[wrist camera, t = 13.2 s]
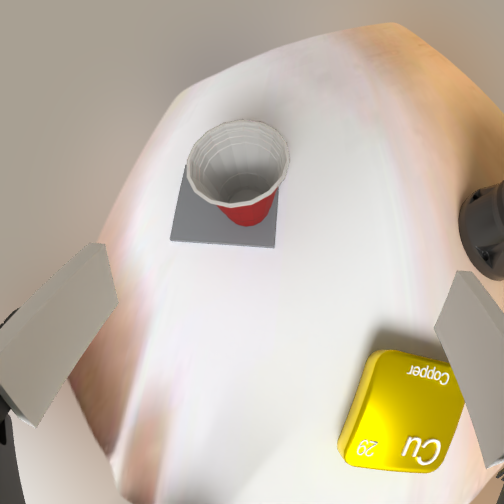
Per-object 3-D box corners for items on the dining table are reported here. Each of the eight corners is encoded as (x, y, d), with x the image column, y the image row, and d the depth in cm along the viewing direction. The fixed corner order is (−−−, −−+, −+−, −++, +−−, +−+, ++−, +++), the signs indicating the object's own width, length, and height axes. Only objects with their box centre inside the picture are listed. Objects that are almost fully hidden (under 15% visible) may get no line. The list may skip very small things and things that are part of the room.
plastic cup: (199, 186, 43) (176, 134, 31) (271, 165, 43) (270, 108, 32) (217, 256, 39) (195, 219, 28) (297, 232, 40) (306, 186, 28)
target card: (279, 169, 43) (279, 167, 43) (274, 248, 40) (274, 246, 39) (186, 166, 45) (185, 164, 44) (171, 241, 41) (169, 239, 41)
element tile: (458, 367, 33) (477, 368, 29) (424, 465, 29) (439, 475, 25) (369, 346, 36) (382, 345, 31) (331, 453, 32) (338, 465, 27)
